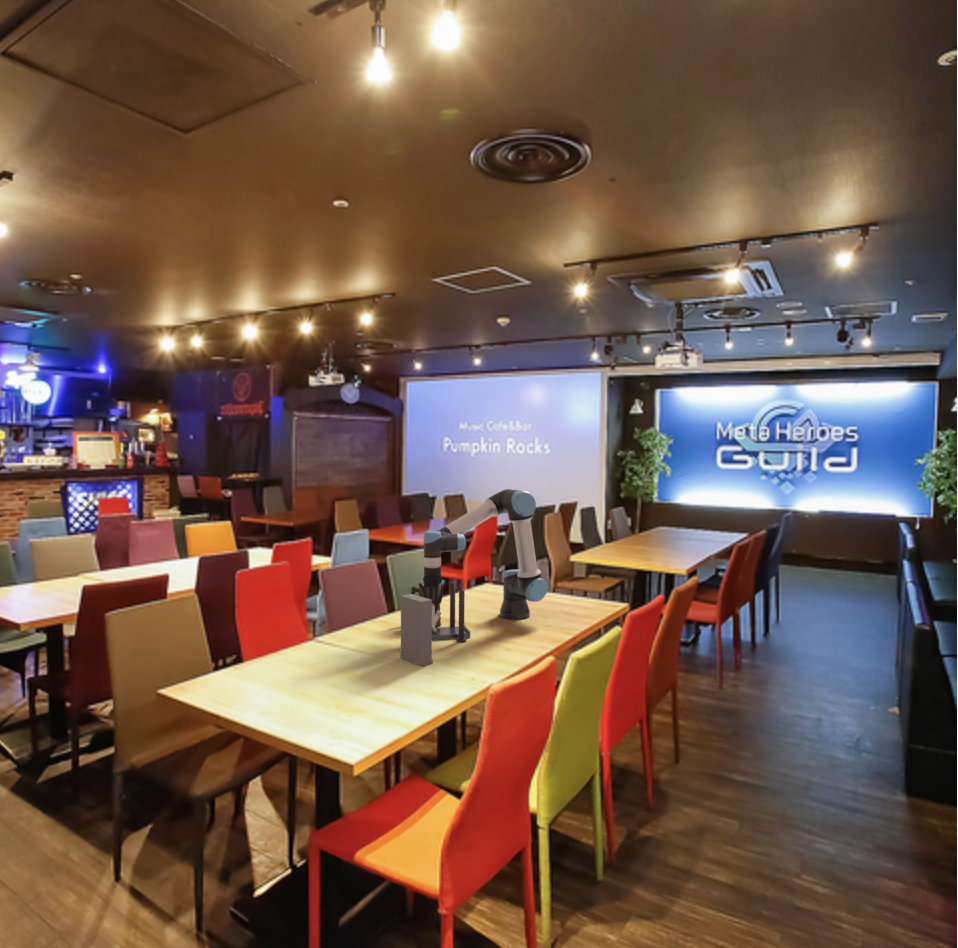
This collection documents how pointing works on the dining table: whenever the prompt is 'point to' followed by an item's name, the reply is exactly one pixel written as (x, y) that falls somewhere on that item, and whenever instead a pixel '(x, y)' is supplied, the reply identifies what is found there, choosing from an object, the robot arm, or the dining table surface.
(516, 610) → the robot arm
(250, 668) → the dining table surface
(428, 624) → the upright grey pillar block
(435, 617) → the breaker paddle
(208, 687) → the dining table surface
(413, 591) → the beer stein
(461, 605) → the disc
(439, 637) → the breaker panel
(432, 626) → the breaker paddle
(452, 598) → the cable post far
